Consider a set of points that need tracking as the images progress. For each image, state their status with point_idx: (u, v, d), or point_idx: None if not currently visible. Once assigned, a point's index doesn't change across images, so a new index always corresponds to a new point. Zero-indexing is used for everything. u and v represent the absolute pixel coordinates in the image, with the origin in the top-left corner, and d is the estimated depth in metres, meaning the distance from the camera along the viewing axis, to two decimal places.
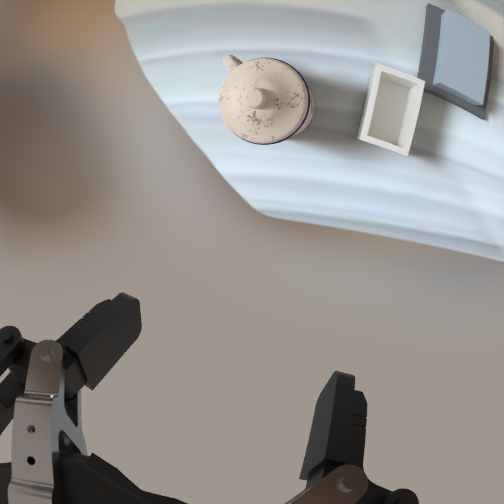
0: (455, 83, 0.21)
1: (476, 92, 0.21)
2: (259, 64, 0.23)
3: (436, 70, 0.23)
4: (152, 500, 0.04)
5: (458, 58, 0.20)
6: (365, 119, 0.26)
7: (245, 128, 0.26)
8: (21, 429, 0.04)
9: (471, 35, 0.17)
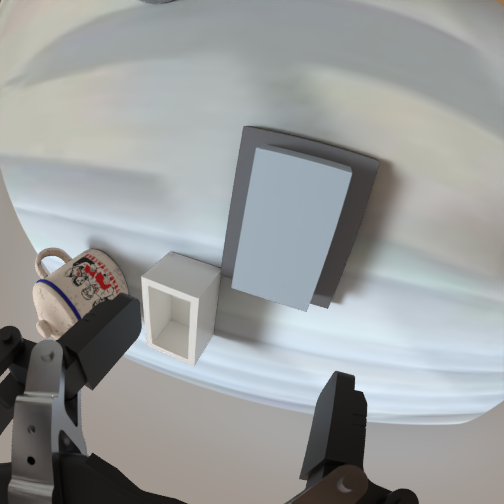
0: (256, 287, 0.22)
1: (295, 296, 0.21)
2: (41, 292, 0.23)
3: None
4: (152, 500, 0.04)
5: (265, 248, 0.20)
6: (146, 330, 0.27)
7: None
8: (21, 429, 0.04)
9: (300, 196, 0.18)
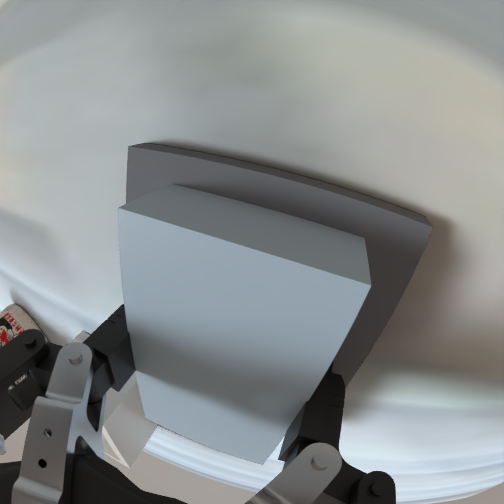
0: (180, 429, 0.11)
1: (242, 451, 0.11)
2: None
3: None
4: (152, 500, 0.04)
5: (178, 393, 0.10)
6: None
7: None
8: (37, 431, 0.04)
9: (230, 328, 0.07)
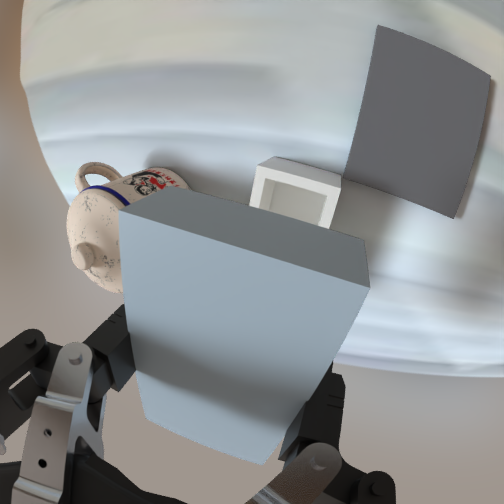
0: (180, 429, 0.11)
1: (242, 451, 0.11)
2: (88, 201, 0.18)
3: None
4: (152, 500, 0.04)
5: (178, 393, 0.10)
6: None
7: (93, 277, 0.21)
8: (37, 431, 0.04)
9: (230, 329, 0.07)
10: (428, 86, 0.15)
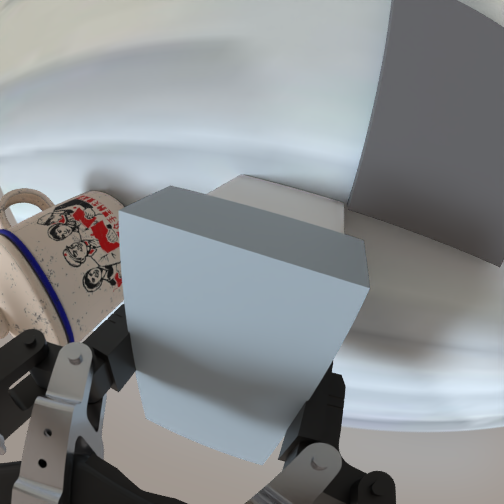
0: (180, 429, 0.11)
1: (242, 451, 0.11)
2: None
3: None
4: (152, 500, 0.04)
5: (178, 394, 0.10)
6: None
7: None
8: (37, 431, 0.04)
9: (230, 329, 0.07)
10: (476, 68, 0.08)
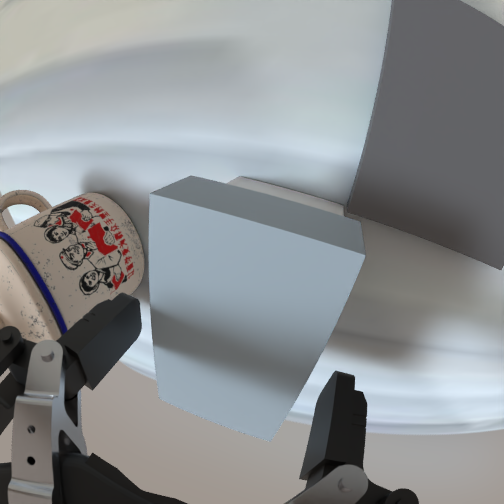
0: (192, 407, 0.12)
1: (252, 426, 0.12)
2: None
3: None
4: (152, 500, 0.04)
5: (194, 367, 0.11)
6: None
7: None
8: (21, 429, 0.04)
9: (247, 297, 0.08)
10: (478, 69, 0.08)
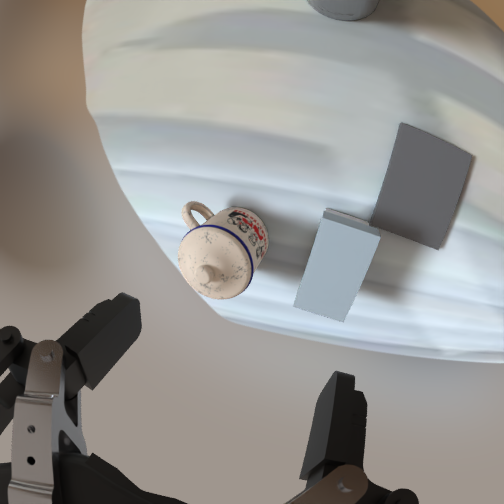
0: (311, 306, 0.32)
1: (337, 312, 0.31)
2: (208, 236, 0.30)
3: (300, 283, 0.33)
4: (152, 500, 0.04)
5: (321, 281, 0.30)
6: None
7: (200, 288, 0.33)
8: (21, 429, 0.04)
9: (348, 249, 0.28)
10: (428, 166, 0.27)
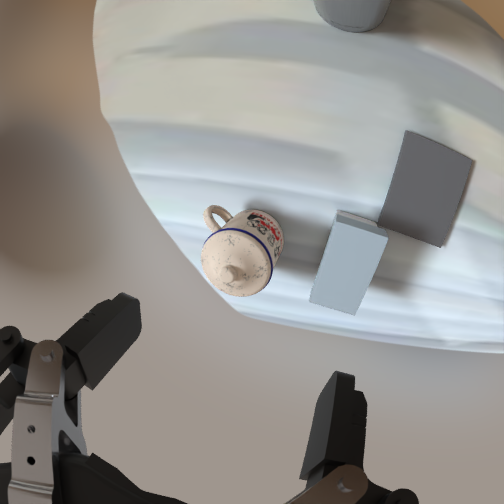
0: (325, 301, 0.34)
1: (349, 306, 0.34)
2: (231, 239, 0.32)
3: (315, 280, 0.36)
4: (152, 500, 0.04)
5: (334, 278, 0.33)
6: None
7: (222, 286, 0.35)
8: (21, 429, 0.04)
9: (359, 249, 0.30)
10: (431, 171, 0.30)
